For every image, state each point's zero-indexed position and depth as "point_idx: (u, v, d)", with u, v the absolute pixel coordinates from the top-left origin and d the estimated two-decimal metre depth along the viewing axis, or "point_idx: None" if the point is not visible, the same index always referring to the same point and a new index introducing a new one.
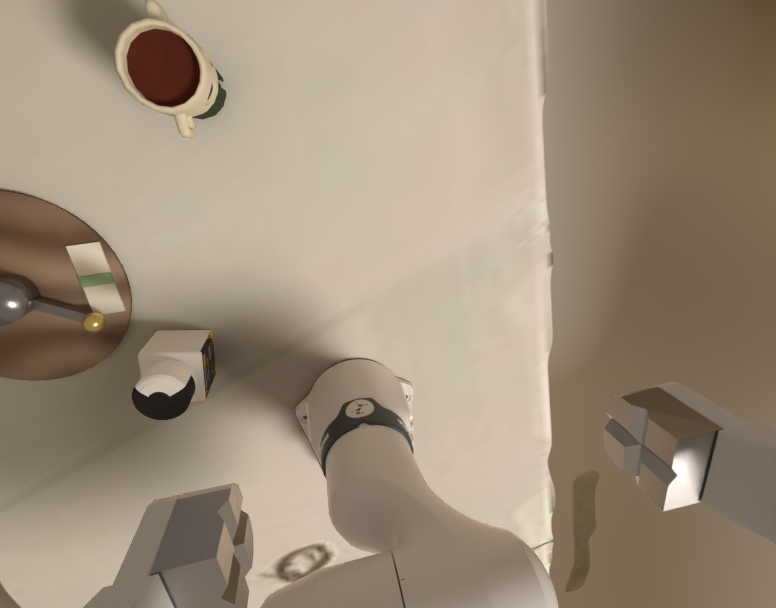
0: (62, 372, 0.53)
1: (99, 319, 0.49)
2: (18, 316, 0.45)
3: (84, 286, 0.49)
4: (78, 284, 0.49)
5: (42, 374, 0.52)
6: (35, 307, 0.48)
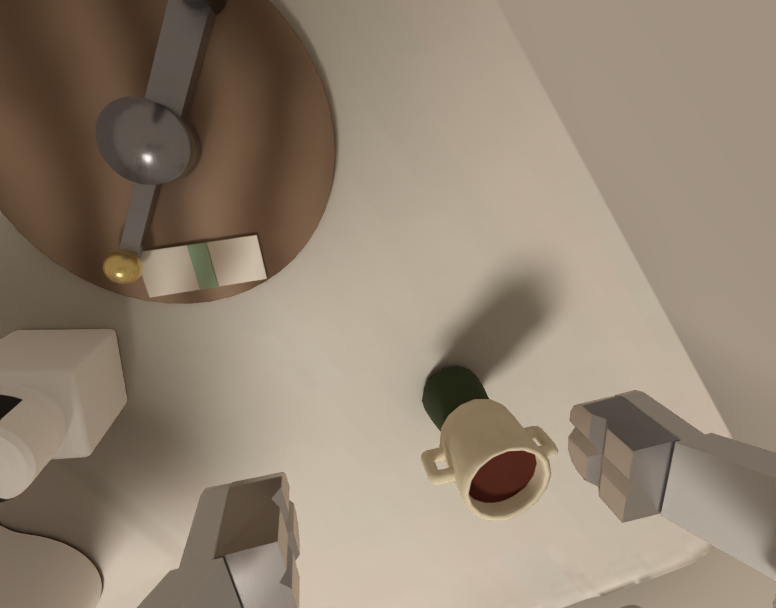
0: None
1: (130, 281, 0.29)
2: (123, 176, 0.25)
3: (189, 249, 0.31)
4: (191, 237, 0.31)
5: None
6: None
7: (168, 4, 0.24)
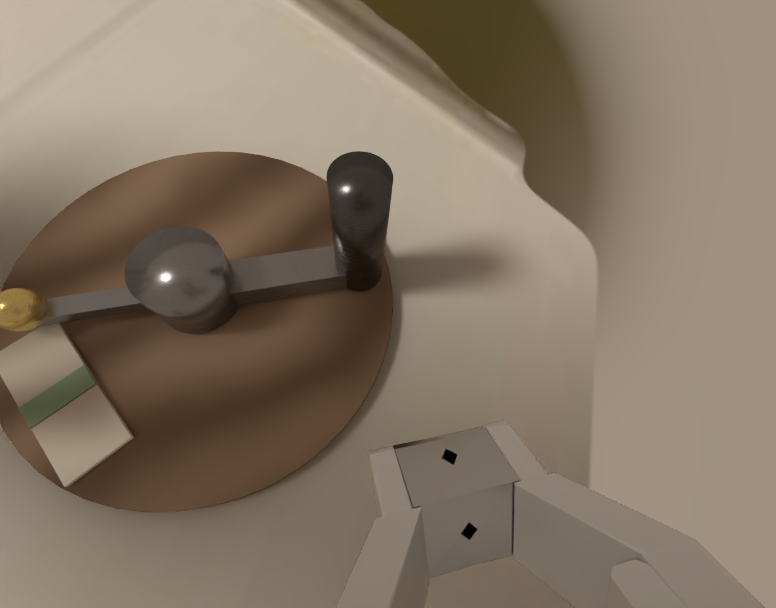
0: (103, 191, 0.28)
1: None
2: (127, 263, 0.21)
3: (79, 370, 0.23)
4: (99, 366, 0.23)
5: (137, 176, 0.28)
6: None
7: (324, 247, 0.25)
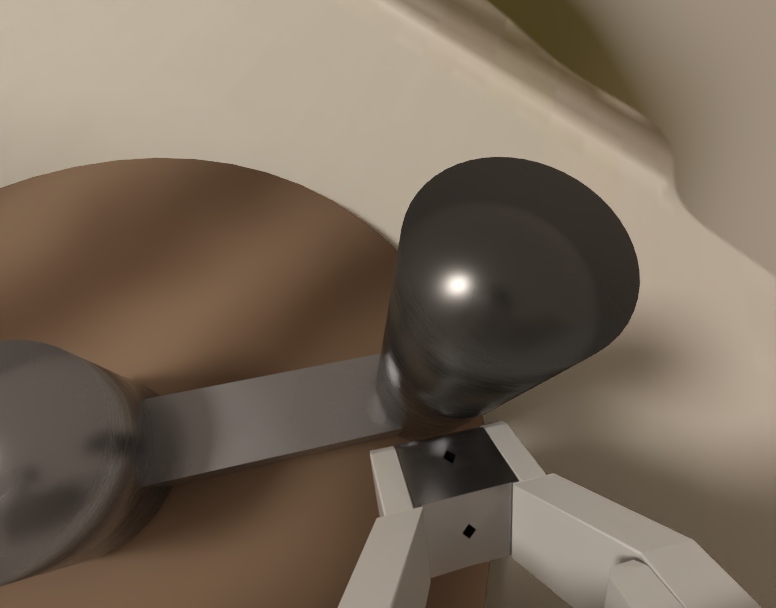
0: None
1: None
2: None
3: None
4: None
5: None
6: None
7: (353, 361, 0.12)
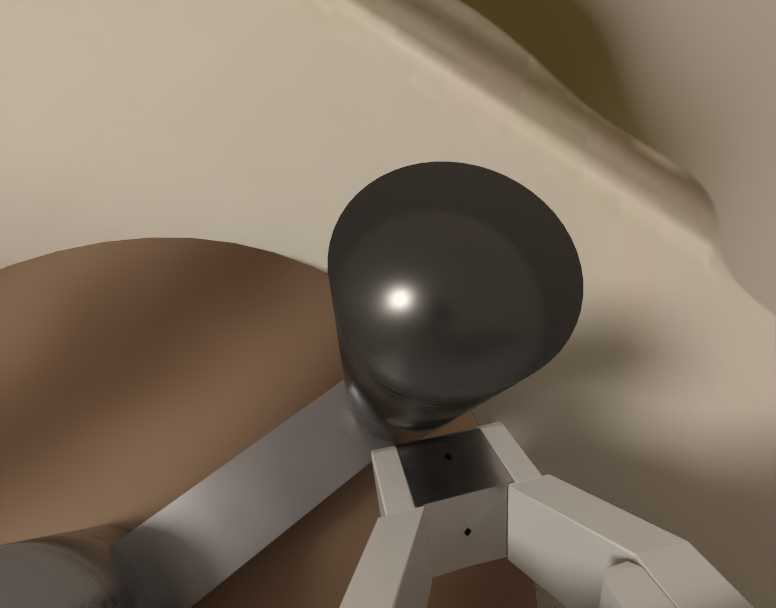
0: None
1: None
2: None
3: None
4: None
5: None
6: None
7: (318, 400, 0.11)
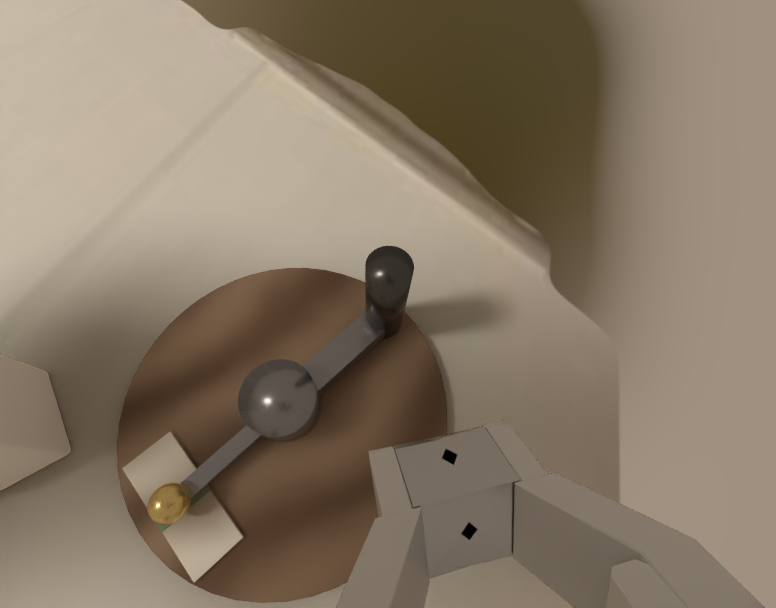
0: (196, 310, 0.33)
1: (163, 523, 0.24)
2: (241, 415, 0.26)
3: None
4: None
5: (223, 295, 0.34)
6: (250, 428, 0.28)
7: (356, 319, 0.31)
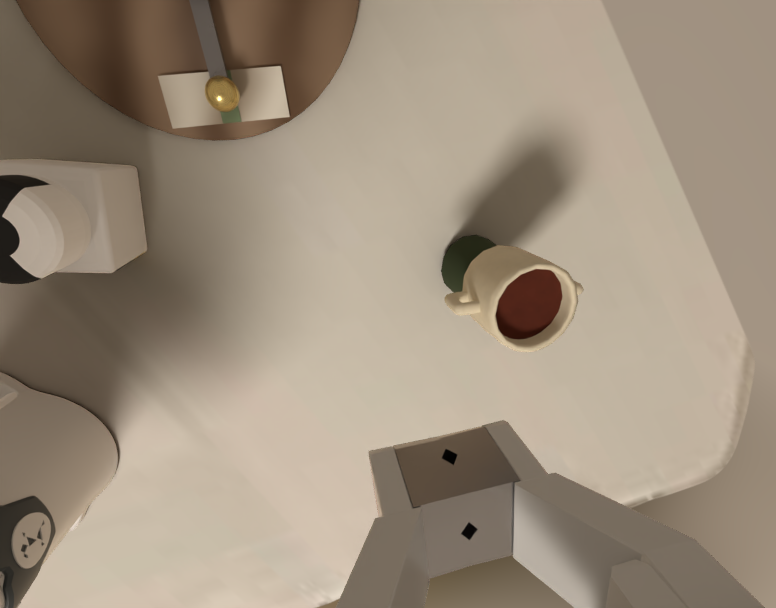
0: None
1: (235, 102, 0.29)
2: None
3: None
4: None
5: None
6: None
7: None
